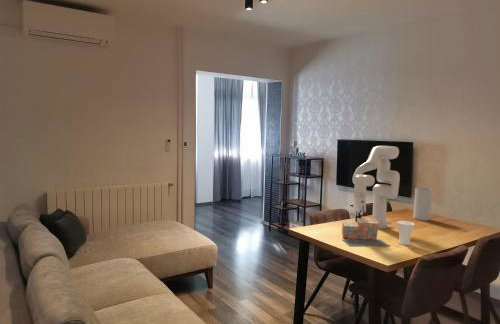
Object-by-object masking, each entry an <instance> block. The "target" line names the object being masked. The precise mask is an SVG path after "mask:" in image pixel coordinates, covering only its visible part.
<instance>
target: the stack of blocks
mask: <svg viewBox="0 0 500 324" xmlns="http://www.w3.org/2000/svg"><path fill="white" fill-rule="evenodd" d="M341 227H342V228H341V235H342V238H343V239H347V240H362V239H367V240H376V239H377V237H378V233H379V232H378V231H379V228H378V221H377V219H372V218H370V217H369V218H368V217H367V218H366V217H364V218H363V217H361V218H357V222H355V221H342V226H341Z"/></svg>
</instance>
